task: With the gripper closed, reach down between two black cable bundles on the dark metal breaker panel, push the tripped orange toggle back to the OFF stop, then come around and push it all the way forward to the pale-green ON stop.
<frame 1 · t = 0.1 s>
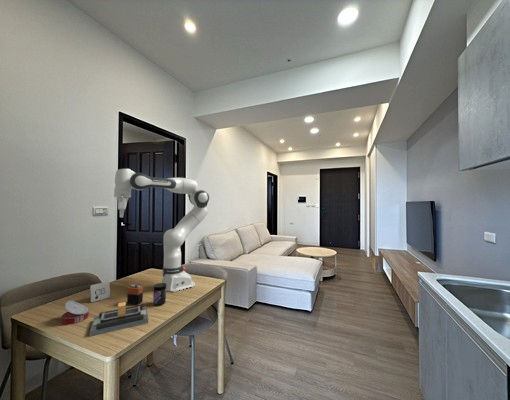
hand: (121, 217, 129), 48 cm above the table, fingers open, 8 cm apart
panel: (121, 321, 100), on the table
toggle: (121, 310, 100), point 5 cm above the table, slide at 5.0 cm
supplement container: (159, 303, 119), on the table
electrical switch: (98, 299, 123), on the table
battery: (134, 303, 119), on the table
canned food: (75, 319, 101), on the table
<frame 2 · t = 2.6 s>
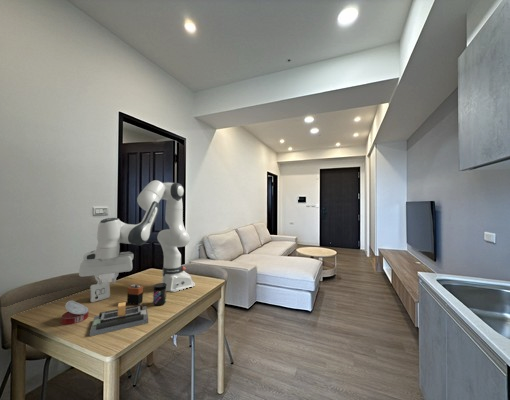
hand: (106, 283, 97), 19 cm above the table, fingers open, 4 cm apart
nothing on the table moved.
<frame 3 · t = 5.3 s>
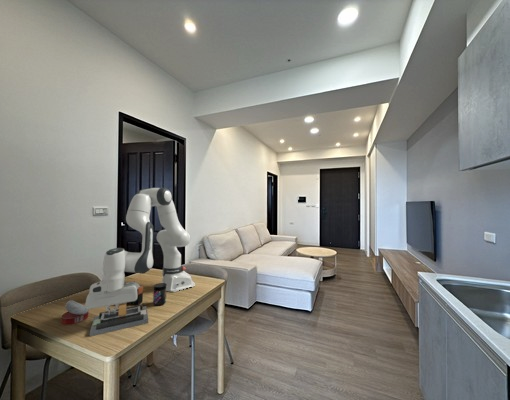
hand: (112, 313, 98), 4 cm above the table, fingers closed
toggle: (122, 310, 100), point 5 cm above the table, slide at 4.7 cm, touching gripper
everything else where it was.
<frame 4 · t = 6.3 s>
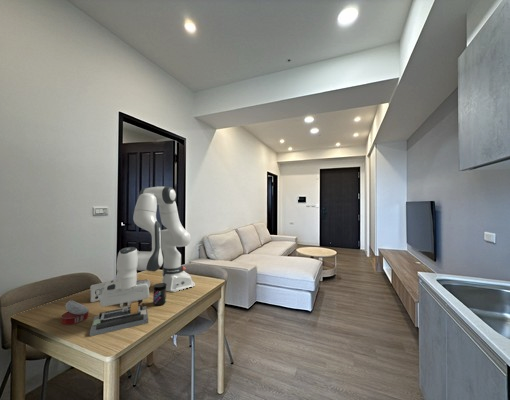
hand: (125, 311, 101), 5 cm above the table, fingers closed
toggle: (134, 308, 103), point 5 cm above the table, slide at -0.2 cm, touching gripper
everything else where it was.
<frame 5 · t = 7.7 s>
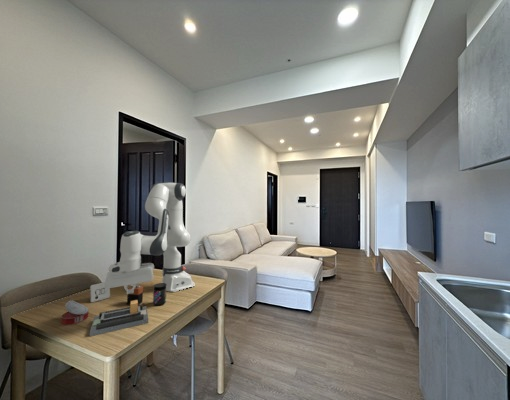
hand: (130, 293, 102), 13 cm above the table, fingers closed
toggle: (133, 308, 103), point 5 cm above the table, slide at 0.0 cm
everything else where it was.
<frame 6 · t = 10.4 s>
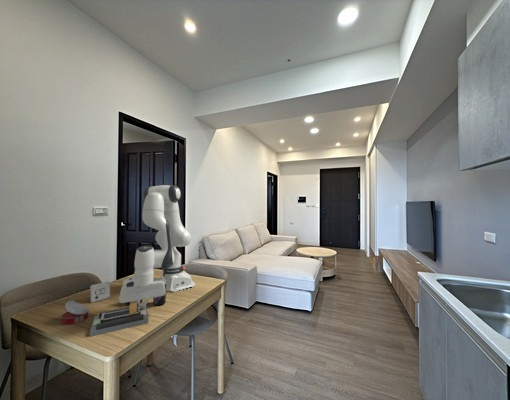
hand: (142, 307, 105), 5 cm above the table, fingers closed
toggle: (133, 308, 103), point 5 cm above the table, slide at 0.3 cm, touching gripper
everything else where it was.
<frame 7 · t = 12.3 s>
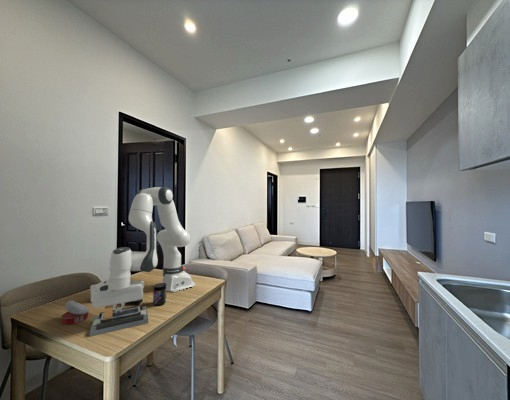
hand: (118, 312, 99), 5 cm above the table, fingers closed
toggle: (108, 313, 98), point 5 cm above the table, slide at 10.1 cm, touching gripper
everything else where it was.
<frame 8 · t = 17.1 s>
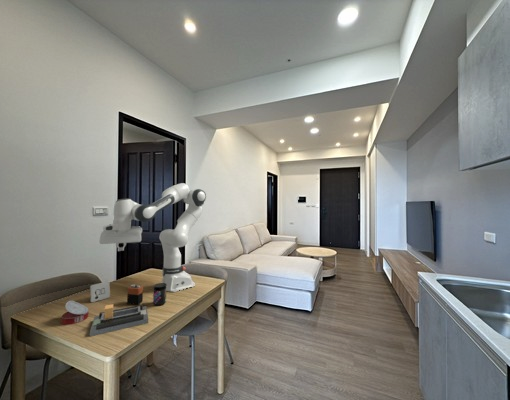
hand: (120, 250, 121), 29 cm above the table, fingers closed
toggle: (108, 313, 98), point 5 cm above the table, slide at 10.0 cm
everything else where it was.
at the end: toggle slide at 10.0 cm; toggle touching nothing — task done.
